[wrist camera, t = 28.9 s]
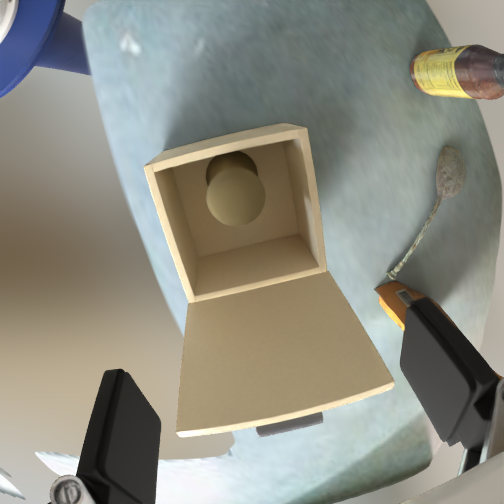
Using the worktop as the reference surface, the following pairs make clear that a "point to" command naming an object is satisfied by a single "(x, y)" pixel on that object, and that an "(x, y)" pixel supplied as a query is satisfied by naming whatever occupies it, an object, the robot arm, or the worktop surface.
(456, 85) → the sauce bottle
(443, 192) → the soupspoon
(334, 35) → the worktop surface
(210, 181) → the cork
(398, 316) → the pancake mix bag
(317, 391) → the lid
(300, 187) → the cream open box
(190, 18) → the worktop surface
